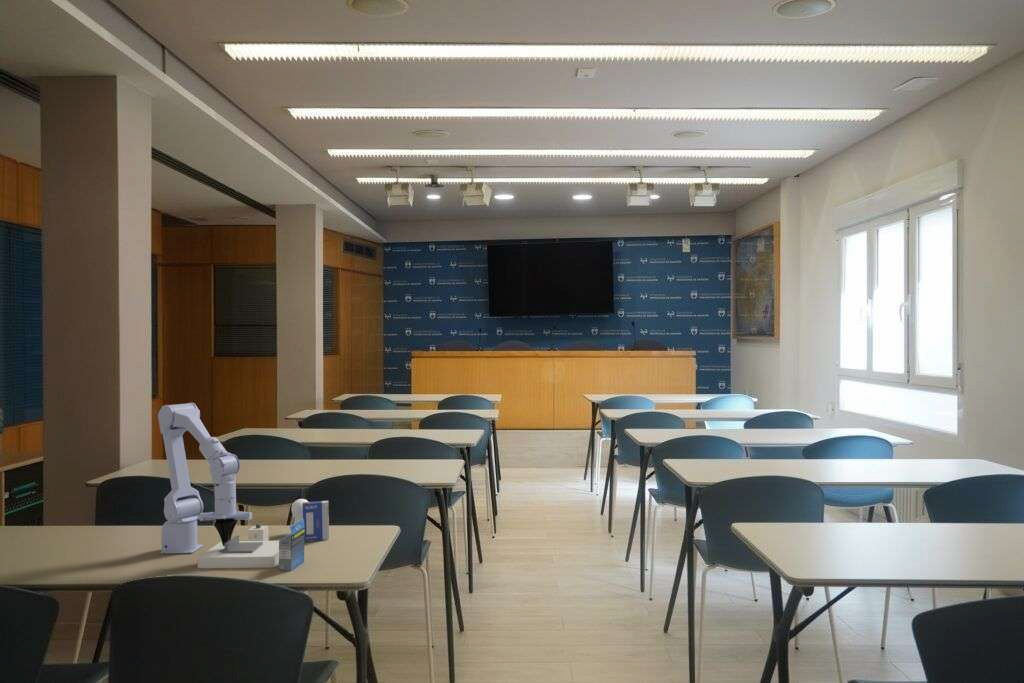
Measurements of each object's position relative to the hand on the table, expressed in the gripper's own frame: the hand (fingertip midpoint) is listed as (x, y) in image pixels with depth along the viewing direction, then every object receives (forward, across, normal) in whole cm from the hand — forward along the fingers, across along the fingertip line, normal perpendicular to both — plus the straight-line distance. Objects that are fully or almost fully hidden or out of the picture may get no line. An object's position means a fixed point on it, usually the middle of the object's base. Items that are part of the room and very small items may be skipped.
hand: (226, 545), depth 213 cm
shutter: (+1, +5, 0) cm, 5 cm away
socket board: (+4, +6, 0) cm, 7 cm away
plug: (+4, +4, +14) cm, 15 cm away
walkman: (+4, +20, +20) cm, 29 cm away
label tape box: (+4, +21, -7) cm, 23 cm away
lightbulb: (+4, +13, +28) cm, 31 cm away
